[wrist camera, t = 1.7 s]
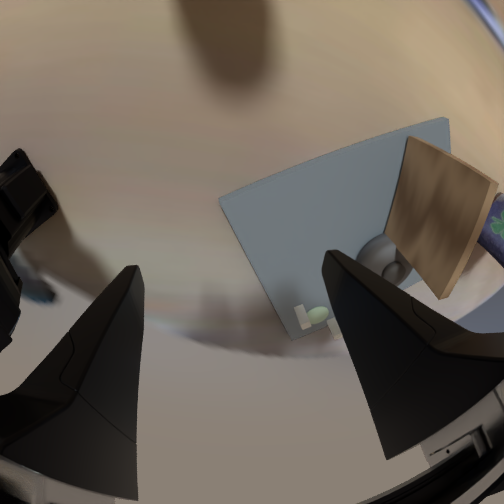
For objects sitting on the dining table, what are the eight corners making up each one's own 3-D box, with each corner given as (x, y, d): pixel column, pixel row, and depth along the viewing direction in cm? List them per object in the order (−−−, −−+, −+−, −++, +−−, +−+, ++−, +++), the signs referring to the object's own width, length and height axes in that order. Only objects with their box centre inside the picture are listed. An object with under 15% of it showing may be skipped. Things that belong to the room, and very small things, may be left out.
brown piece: (379, 306, 31) (413, 364, 24) (337, 314, 30) (368, 380, 23) (436, 141, 19) (512, 186, 12) (387, 131, 18) (472, 178, 11)
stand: (290, 335, 33) (297, 356, 30) (218, 198, 21) (221, 219, 18) (438, 264, 31) (452, 280, 28) (443, 116, 19) (466, 126, 16)
